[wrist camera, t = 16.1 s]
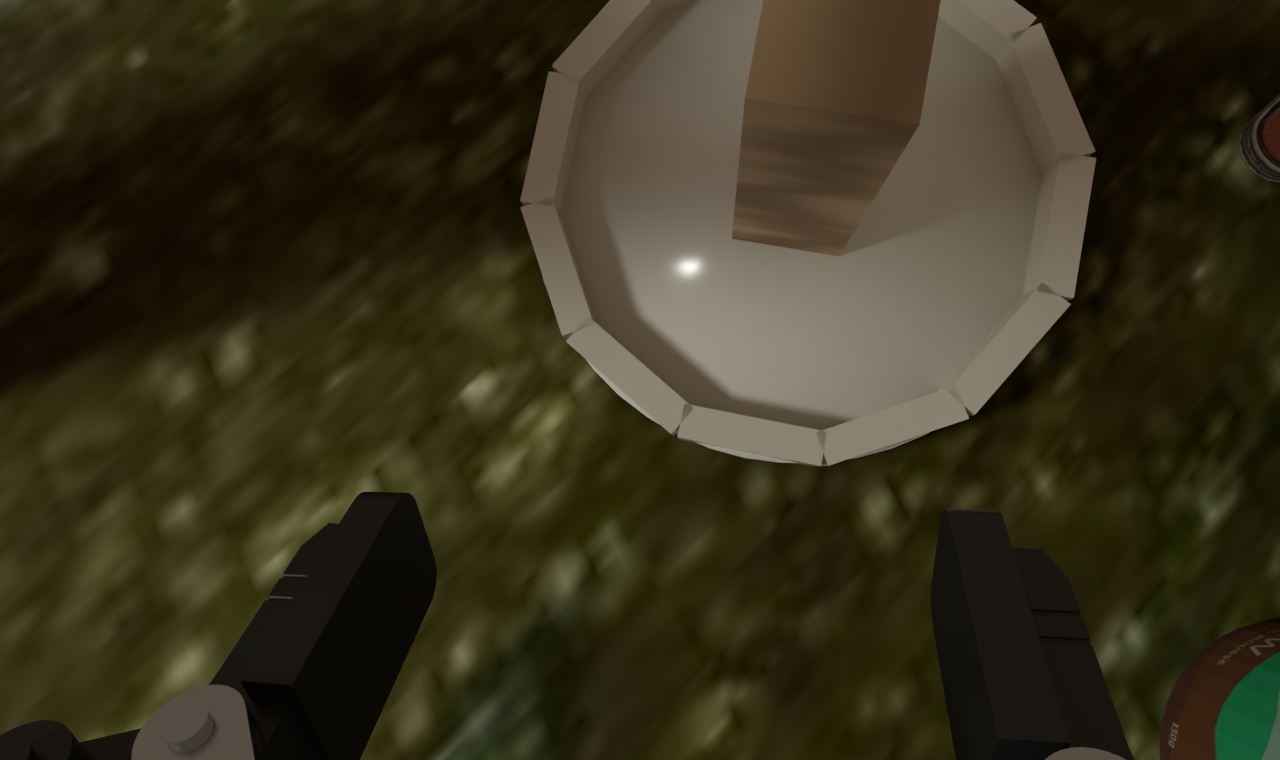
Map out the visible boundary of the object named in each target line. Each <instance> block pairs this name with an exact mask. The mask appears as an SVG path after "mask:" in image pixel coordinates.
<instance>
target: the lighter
mask: <svg viewBox="0 0 1280 760" xmlns="http://www.w3.org/2000/svg"><path fill="white" fill-rule="evenodd" d="M1239 146H1240V152H1241V155H1242V157H1243V159H1244V161H1245V163H1246V165H1247V166H1248V167H1249V168H1250V169H1251V170H1252V171H1253V172H1254V173H1255V174H1257V175H1258V176H1260V177H1262V178H1264V179H1266V180H1270V181H1275V182H1280V94H1279V95H1278V96H1277V97H1276V98H1275V99H1274V100H1272V101H1271V102H1270V103H1269V104H1268V105H1267V106H1266V107H1265V108H1264V109H1263V110H1262V111H1260V112H1259V113H1258V114H1257V115H1256V116H1255V117H1254V118H1253V119H1252V120H1251V121H1250V122H1248V123H1247V125H1246V126H1245V127H1244V129H1243V130H1242V132H1241V135H1240V140H1239Z"/></svg>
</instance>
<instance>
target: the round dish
mask: <svg viewBox="0 0 1280 760" xmlns="http://www.w3.org/2000/svg"><path fill="white" fill-rule="evenodd" d="M762 4H763V0H610V1H609V2H608V3H607V4H606V5H605V6H604V8H603V9H602V10H601V11H600V12H599V13H598V14H597V15H596V17H595V18H594V19H593V20H592V21H591V22H590V23H589V24H588V25H587V27H586V28H585V29H584V30H583V31H582V32H581V33H580V34H579V36H578V37H577V38H576V39H575V40H574V41H573V42H572V43H571V44H570V46H569V47H568V48H567V49H566V50H565V51H564V52H563V53H562V55H561V56H560V57H559V58H558V59H557V60H556V61H555V62H554V63H553V65H552V68H553V70H554V72H550V71H549V72H548V77H547V81H546V86H545V90H544V95H543V99H542V104H541V108H540V113H539V118H538V122H537V127H536V131H535V136H534V140H533V145H532V149H531V154H530V158H529V163H528V167H527V172H526V176H525V181H524V185H523V190H522V195H521V199H520V202H521V203H522V204H523V207H520V208H521V211H522V214H523V217H524V220H525V223H526V226H527V229H528V232H529V235H530V238H531V242H532V245H533V248H534V251H535V254H536V257H537V260H538V263H539V266H540V269H541V272H542V276H543V280H544V283H545V286H546V288H547V291H548V294H549V297H550V300H551V303H552V306H553V309H554V312H555V315H556V318H557V321H558V324H559V328H560V331H561V334H562V336H563V337H564V338H565V339H566V340H567V341H566V342H567V343H568V344H569V345H571V346H572V347H573V348H574V349H575V350H576V351H577V352H579V353H580V354H581V355H582V356H583V357H584V358H585V359H586V360H587V362H588V363H589V364H590V365H591V367H592V368H593V369H594V371H595V372H596V373H597V374H598V375H599V376H600V377H601V378H602V379H603V380H604V381H605V382H606V383H607V384H608V385H609V386H610V387H611V388H612V389H613V390H614V391H615V392H616V393H617V394H618V395H619V396H620V397H622V398H623V399H624V400H626V401H627V402H628V403H630V404H631V405H632V406H633V407H635V408H636V409H637V410H639V411H640V412H641V413H642V414H644V415H645V416H646V417H648V418H649V419H651V420H653V421H654V422H656V423H658V424H659V425H661V426H663V427H664V428H665V429H666V430H667V431H668V432H669V433H670V434H672V435H673V436H674V437H675V435H676V434H677V435H678V438H679V439H680V440H684V441H689V442H694V443H698V444H700V445H702V446H705V447H707V448H710V449H713V450H716V451H720V452H724V453H727V454H731V455H735V456H739V457H742V458H747V459H755V460H762V461H769V462H777V463H798V464H803V465H808V466H829V465H832V464H835V463H838V462H841V461H844V460H847V459H853V458H858V457H862V456H866V455H870V454H873V453H877V452H881V451H885V450H889V449H892V448H894V447H897V446H899V445H902V444H904V443H907V442H909V441H912V440H914V439H917V438H919V437H921V436H924V435H926V434H928V433H930V432H931V431H934V430H937V429H940V428H943V427H946V426H949V425H952V424H955V423H958V422H961V421H964V420H967V419H969V417H968V416H971V415H975V414H976V413H977V412H978V411H979V410H980V408H981V407H982V406H983V405H984V404H985V403H986V402H987V400H988V399H989V398H990V397H991V396H992V395H993V393H994V392H995V391H996V390H997V389H998V388H999V387H1000V385H1001V384H1002V383H1003V382H1004V381H1005V380H1006V379H1007V377H1008V376H1009V375H1010V374H1011V373H1012V372H1013V370H1014V369H1015V368H1016V367H1017V366H1018V365H1019V364H1020V362H1021V361H1022V360H1023V359H1024V358H1025V357H1026V355H1027V354H1028V353H1029V352H1030V351H1031V350H1032V349H1033V347H1034V346H1035V345H1036V344H1037V343H1038V342H1039V340H1040V339H1041V338H1042V337H1043V336H1044V335H1045V334H1046V332H1047V331H1048V330H1049V329H1050V328H1051V327H1052V325H1053V324H1054V323H1055V322H1056V321H1057V320H1058V319H1059V317H1060V316H1061V315H1062V314H1063V313H1064V312H1065V311H1066V309H1067V308H1068V307H1069V306H1070V305H1071V304H1070V303H1068V302H1067V301H1069V300H1071V299H1073V298H1074V294H1075V287H1076V281H1077V275H1078V269H1079V262H1080V256H1081V250H1082V244H1083V238H1084V231H1085V225H1086V219H1087V213H1088V206H1089V200H1090V194H1091V188H1092V181H1093V175H1094V169H1095V163H1096V158H1093V157H1089V156H1090V155H1091V154H1093V153H1094V152H1095V149H1094V147H1093V144H1092V142H1091V140H1090V137H1089V135H1088V133H1087V130H1086V128H1085V125H1084V123H1083V121H1082V118H1081V116H1080V114H1079V111H1078V109H1077V107H1076V104H1075V102H1074V99H1073V97H1072V95H1071V92H1070V90H1069V88H1068V85H1067V83H1066V81H1065V78H1064V76H1063V73H1062V71H1061V69H1060V66H1059V64H1058V62H1057V59H1056V57H1055V55H1054V52H1053V50H1052V47H1051V45H1050V43H1049V40H1048V38H1047V36H1046V33H1045V31H1044V29H1043V26H1042V24H1041V23H1040V24H1037V25H1034V26H1031V25H1032V24H1033V22H1034V21H1035V20H1036V18H1037V17H1035V16H1034V15H1033V14H1031V13H1030V12H1029V11H1027V10H1026V9H1025V8H1023V7H1022V6H1020V5H1019V4H1018V3H1016V2H1015V1H1014V0H941V1H940V7H939V13H938V19H937V25H936V31H935V37H934V43H933V49H932V54H931V60H930V66H929V72H928V78H927V84H926V90H925V96H924V102H923V108H922V114H921V120H920V125H919V126H918V128H917V130H916V131H915V133H914V134H913V136H912V138H911V139H910V141H909V143H908V144H907V146H906V148H905V149H904V151H903V153H902V154H901V156H900V157H899V159H898V161H897V162H896V164H895V166H894V167H893V169H892V171H891V172H890V174H889V176H888V177H887V179H886V180H885V182H884V184H883V185H882V187H881V189H880V190H879V192H878V194H877V195H876V197H875V199H874V200H873V202H872V204H871V205H870V207H869V208H868V210H867V212H866V213H865V215H864V217H863V218H862V220H861V222H860V223H859V225H858V227H857V228H856V230H855V231H854V233H853V235H852V236H851V238H850V240H849V241H848V243H847V245H846V246H845V248H844V250H843V251H842V253H841V254H840V256H833V255H827V254H821V253H815V252H809V251H803V250H797V249H791V248H785V247H779V246H773V245H767V244H761V243H755V242H749V241H743V240H737V239H732V231H733V220H734V209H735V198H736V188H737V177H738V166H739V155H740V144H741V134H742V123H743V112H744V101H745V94H746V89H747V84H748V79H749V73H750V68H751V63H752V57H753V52H754V47H755V41H756V36H757V31H758V25H759V20H760V15H761V10H762Z"/></svg>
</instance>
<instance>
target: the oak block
mask: <svg viewBox="0 0 1280 760" xmlns="http://www.w3.org/2000/svg"><path fill="white" fill-rule="evenodd" d="M940 1H941V0H763V4H762V10H761V15H760V20H759V25H758V31H757V36H756V41H755V47H754V52H753V57H752V63H751V68H750V73H749V79H748V84H747V89H746V94H745V101H744V112H743V123H742V134H741V144H740V155H739V166H738V177H737V188H736V198H735V209H734V220H733V231H732V239H737V240H743V241H749V242H755V243H761V244H767V245H773V246H779V247H785V248H791V249H797V250H803V251H809V252H815V253H821V254H827V255H833V256H840V254H841V253H842V251H843V250H844V248H845V246H846V245H847V243H848V241H849V240H850V238H851V236H852V235H853V233H854V231H855V230H856V228H857V227H858V225H859V223H860V222H861V220H862V218H863V217H864V215H865V213H866V212H867V210H868V208H869V207H870V205H871V204H872V202H873V200H874V199H875V197H876V195H877V194H878V192H879V190H880V189H881V187H882V185H883V184H884V182H885V180H886V179H887V177H888V176H889V174H890V172H891V171H892V169H893V167H894V166H895V164H896V162H897V161H898V159H899V157H900V156H901V154H902V153H903V151H904V149H905V148H906V146H907V144H908V143H909V141H910V139H911V138H912V136H913V134H914V133H915V131H916V130H917V128H918V126H919V125H920V120H921V114H922V108H923V102H924V96H925V90H926V84H927V78H928V72H929V66H930V60H931V54H932V49H933V43H934V37H935V31H936V25H937V19H938V13H939V7H940Z"/></svg>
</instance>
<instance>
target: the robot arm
mask: <svg viewBox="0 0 1280 760" xmlns="http://www.w3.org/2000/svg"><path fill="white" fill-rule="evenodd" d="M436 577H437V571H436V562H435V558H434V555H433V552H432V549H431V546H430V543H429V540H428V537H427V534H426V531H425V528H424V525H423V522H422V518H421V515H420V512H419V509H418V506H417V503H416V501H415V499H414V497H413V496H412V495H411V494H409V493H390V492H362V493H361V494H359V495H358V496H357V497H356V498H355V500H354V501H353V503H352V504H351V506H350V508H349V509H348V511H347V512H346V514H345V515H344V517H343V519H342V520H341V522H340V523H339V524H332V523H328V524H327V525H326V526H325V527H324V528H323V529H321V530H320V531H319V532H318V533H317V534H315V535H314V536H313V537H312V538H311V539H309V540H308V541H307V542H306V543H305V544H303V545H302V546H301V547H300V549H299V550H298V552H297V553H296V555H295V556H294V558H293V559H292V561H291V562H290V564H289V566H288V567H287V569H286V570H285V572H284V577H283V578H280V579H279V581H278V582H277V584H276V585H275V587H274V588H273V590H272V591H271V593H270V594H269V600H265V602H264V603H263V605H262V606H261V608H260V609H259V611H258V612H257V614H256V615H255V617H254V618H253V620H252V621H251V623H250V624H249V626H248V627H247V629H246V630H245V632H244V633H243V635H242V636H241V638H240V639H239V641H238V642H237V644H236V646H235V647H234V649H233V650H232V652H231V653H230V655H229V656H228V658H227V659H226V661H225V662H224V664H223V665H222V667H221V668H220V670H219V671H218V673H217V674H216V676H215V677H214V679H213V680H212V681H211V683H210V684H209V685H206V686H201V687H197V688H194V689H192V690H189V691H186V692H184V693H182V694H180V695H178V696H176V697H175V698H173V699H172V700H170V701H168V702H167V703H166V704H164V705H163V706H162V707H161V708H159V709H158V710H157V711H156V712H155V713H154V714H153V715H152V716H151V717H150V718H149V719H148V720H147V722H146V723H145V724H144V725H143V727H142V728H141V729H137V730H133V731H128V732H124V733H119V734H115V735H111V736H106V737H102V738H97V739H93V740H89V741H84V742H80V743H79V742H78V740H77V739H76V738H75V737H74V735H73V734H72V733H71V731H70V730H69V729H68V728H67V727H66V726H65V725H64V724H62V723H60V722H57V721H51V720H43V721H36V722H31V723H27V724H24V725H21V726H19V727H16V728H14V729H12V730H10V731H8V732H6V733H4V734H2V735H0V760H360V758H361V756H362V754H363V751H364V749H365V747H366V745H367V743H368V740H369V738H370V736H371V734H372V732H373V729H374V727H375V725H376V723H377V720H378V718H379V716H380V714H381V712H382V709H383V707H384V705H385V703H386V701H387V698H388V696H389V694H390V692H391V690H392V687H393V685H394V683H395V681H396V679H397V676H398V674H399V672H400V670H401V667H402V665H403V663H404V661H405V659H406V656H407V654H408V652H409V650H410V648H411V645H412V643H413V641H414V639H415V637H416V634H417V632H418V630H419V628H420V626H421V623H422V621H423V619H424V617H425V614H426V612H427V610H428V608H429V606H430V603H431V601H432V599H433V595H434V592H435V587H436ZM931 609H932V621H933V629H934V635H935V640H936V646H937V652H938V658H939V664H940V669H941V675H942V681H943V687H944V692H945V698H946V704H947V710H948V716H949V721H950V727H951V733H952V739H953V745H954V750H955V756H956V760H1135V759H1134V758H1133V756H1132V753H1131V751H1130V749H1129V747H1128V744H1127V741H1126V738H1125V736H1124V733H1123V730H1122V727H1121V724H1120V722H1119V719H1118V716H1117V713H1116V710H1115V708H1114V705H1113V702H1112V699H1111V697H1110V694H1109V691H1108V688H1107V685H1106V683H1105V680H1104V677H1103V674H1102V671H1101V669H1100V666H1099V663H1098V660H1097V657H1096V655H1095V652H1094V649H1093V646H1090V638H1089V635H1088V632H1087V630H1086V627H1085V624H1084V621H1083V618H1080V610H1079V607H1078V604H1077V602H1076V599H1075V596H1074V593H1073V591H1072V588H1071V585H1070V582H1069V579H1068V578H1067V577H1066V576H1065V574H1064V573H1063V572H1062V571H1061V570H1060V569H1059V568H1058V567H1057V566H1056V565H1055V563H1054V562H1053V561H1052V560H1051V559H1050V558H1049V557H1048V556H1047V555H1046V554H1045V552H1044V551H1043V550H1042V549H1021V548H1012V546H1011V543H1010V539H1009V536H1008V533H1007V529H1006V526H1005V523H1004V519H1003V516H1002V514H1001V513H1000V511H998V510H974V509H943V511H942V513H941V518H940V525H939V532H938V540H937V547H936V555H935V563H934V570H933V578H932V588H931Z"/></svg>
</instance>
